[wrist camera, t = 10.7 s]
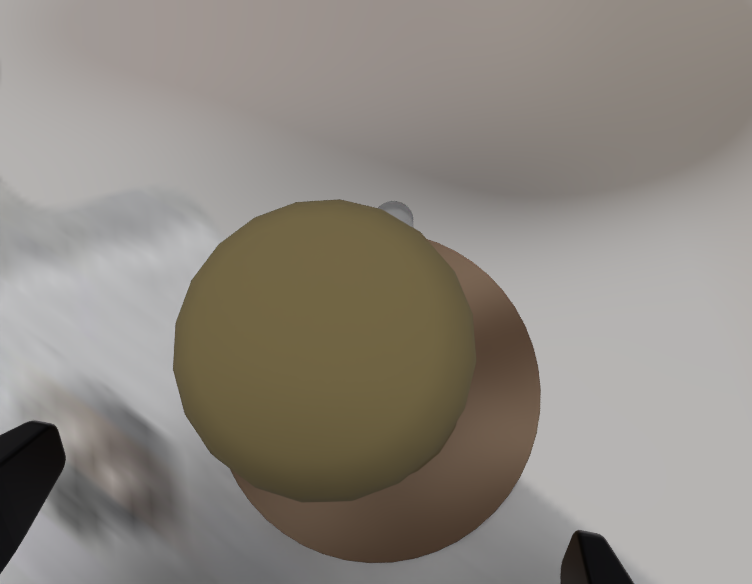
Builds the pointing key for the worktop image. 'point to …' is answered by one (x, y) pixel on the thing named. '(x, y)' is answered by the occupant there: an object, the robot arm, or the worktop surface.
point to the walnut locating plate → (454, 462)
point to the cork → (324, 351)
